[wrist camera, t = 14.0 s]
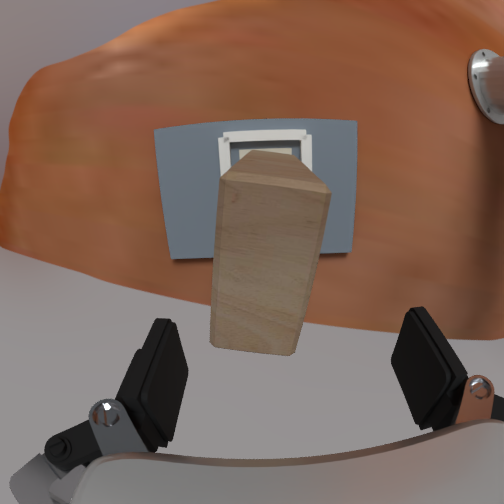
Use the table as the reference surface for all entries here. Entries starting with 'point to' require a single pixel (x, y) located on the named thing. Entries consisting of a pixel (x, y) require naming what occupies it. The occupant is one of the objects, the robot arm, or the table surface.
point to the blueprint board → (229, 153)
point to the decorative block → (265, 252)
